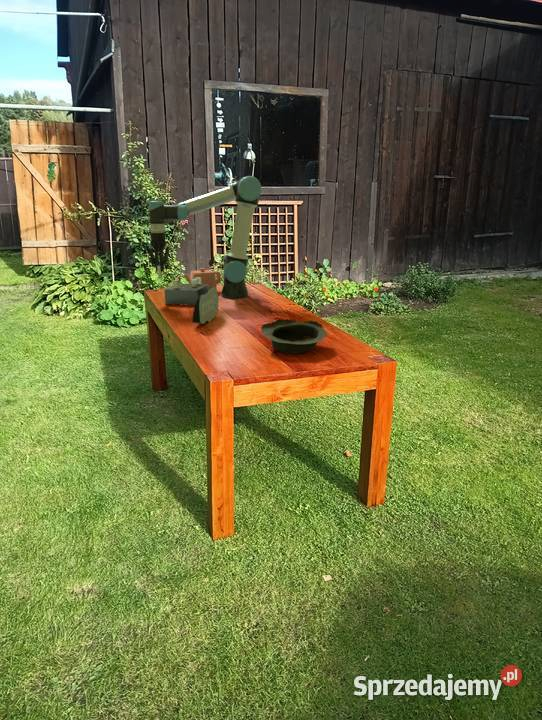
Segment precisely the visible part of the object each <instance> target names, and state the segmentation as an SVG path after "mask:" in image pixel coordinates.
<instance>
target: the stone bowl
mask: <svg viewBox="0 0 542 720" xmlns="http://www.w3.org/2000/svg"><path fill="white" fill-rule="evenodd" d="M260 329H261V333H262V335H263V336H264V337H266V338H268V339H269V340H270V341H271V346H272V347H271V348H272V349H274V351H275V352H276V351H277V352H282V353H285V354H287V355H292V354H296V355H297V354H304V353H306V352H308V351H310V350H312V349H314V348H315V347H316V345H317V344H318V343H319V342H322V341H323V340H324V339H325V338H326V337H328V332H327V330H325V329H324V326H323V325H322V323H319V322H318V321H315V320H314V321H313V320H309V321H303V322H302V321H300V320H294V319H289V318H287V319H277V320H276V321H272V322H267V323H265V324H262V325H261V326H260Z"/></svg>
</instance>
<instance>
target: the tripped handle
mask: <svg viewBox="0 0 542 720" xmlns="http://www.w3.org/2000/svg"><path fill="white" fill-rule="evenodd" d="M180 283H181V282H180V279H174V280H172V286H173V288H179V287H180Z"/></svg>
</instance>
